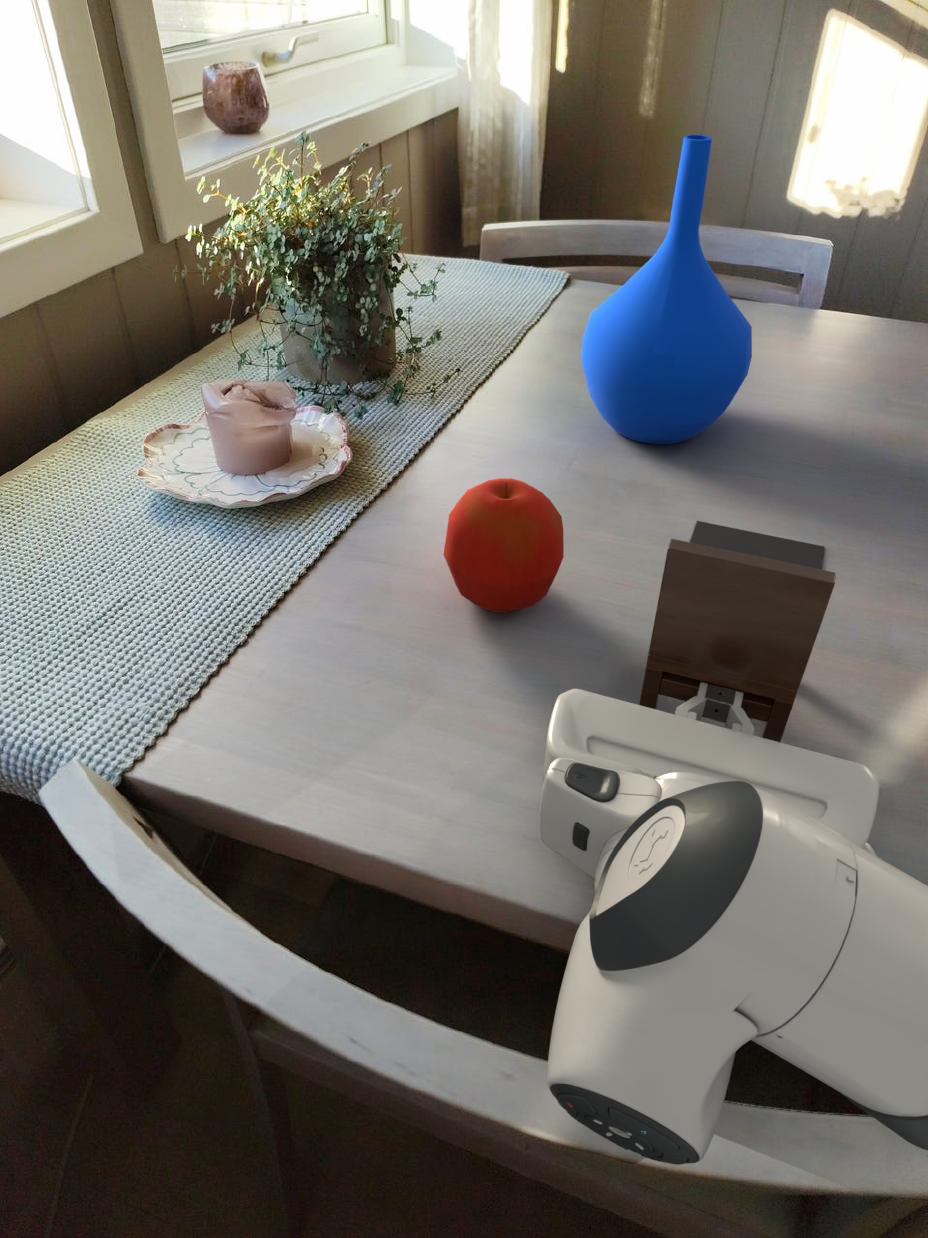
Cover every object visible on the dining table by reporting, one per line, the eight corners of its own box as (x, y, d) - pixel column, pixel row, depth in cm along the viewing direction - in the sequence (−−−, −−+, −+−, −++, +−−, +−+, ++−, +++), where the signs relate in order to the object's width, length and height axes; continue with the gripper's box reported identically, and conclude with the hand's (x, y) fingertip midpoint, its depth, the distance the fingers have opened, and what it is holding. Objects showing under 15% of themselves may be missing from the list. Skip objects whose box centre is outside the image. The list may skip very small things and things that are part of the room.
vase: (675, 380, 110) (719, 112, 91) (768, 444, 97) (842, 148, 78) (547, 406, 105) (566, 126, 85) (627, 477, 92) (670, 168, 73)
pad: (814, 623, 73) (814, 622, 73) (673, 591, 77) (673, 590, 77) (824, 547, 82) (824, 546, 82) (696, 521, 85) (697, 520, 85)
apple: (579, 616, 74) (592, 501, 67) (469, 644, 71) (470, 527, 64) (531, 552, 81) (538, 442, 74) (429, 574, 79) (426, 462, 71)
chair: (773, 761, 62) (835, 583, 51) (635, 724, 64) (667, 548, 54) (787, 671, 69) (843, 499, 59) (662, 641, 72) (695, 472, 61)
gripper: (894, 878, 45) (896, 700, 55) (520, 767, 51) (582, 624, 60) (858, 941, 49) (866, 766, 59) (516, 832, 55) (575, 689, 65)
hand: (720, 693), depth 60 cm, fingers closed, pressing on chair
